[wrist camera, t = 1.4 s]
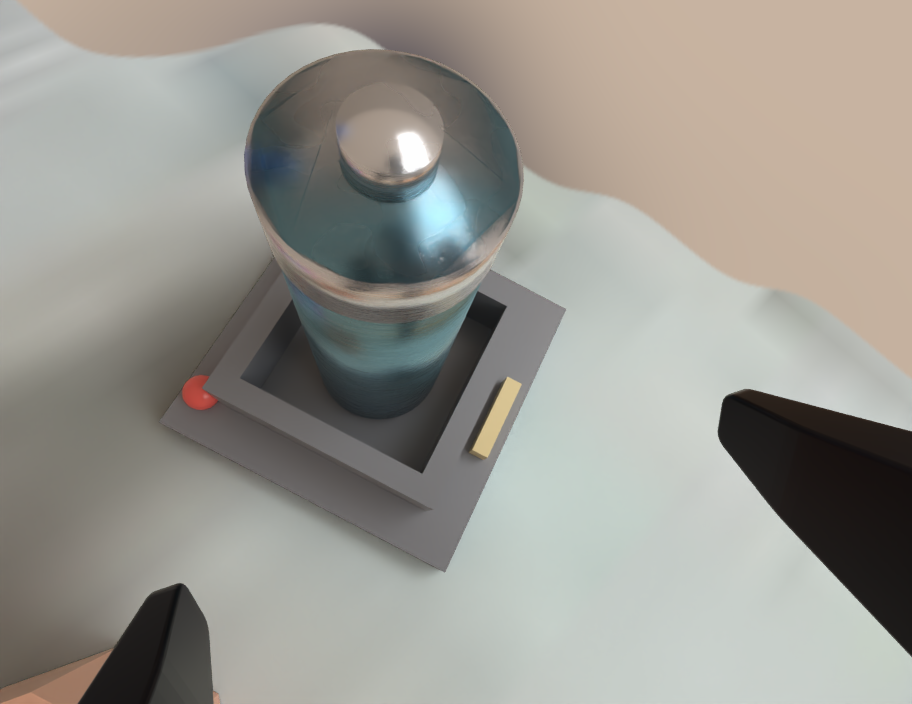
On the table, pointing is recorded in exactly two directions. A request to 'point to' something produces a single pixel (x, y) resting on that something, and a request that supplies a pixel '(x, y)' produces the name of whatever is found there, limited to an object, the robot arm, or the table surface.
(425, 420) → the tray
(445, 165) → the battery
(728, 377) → the table surface
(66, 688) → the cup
